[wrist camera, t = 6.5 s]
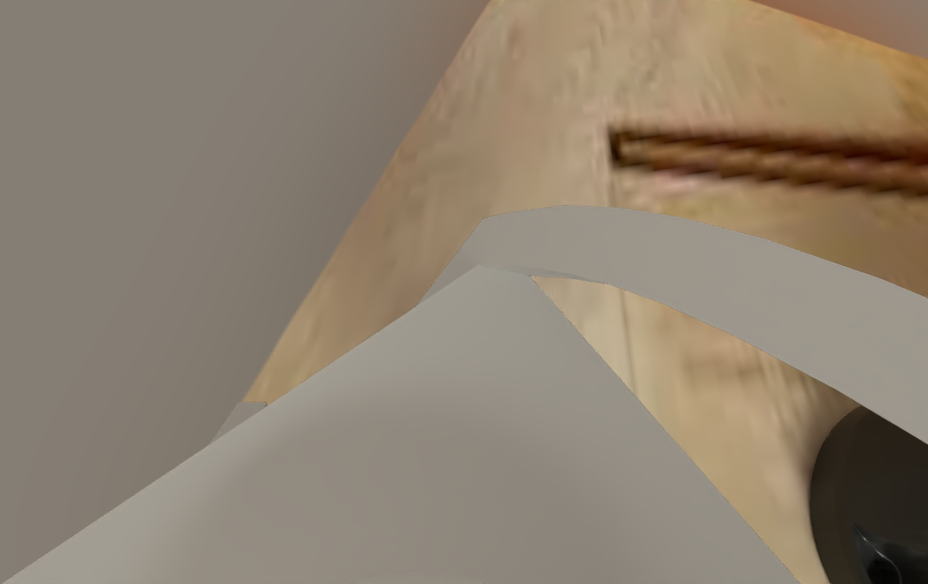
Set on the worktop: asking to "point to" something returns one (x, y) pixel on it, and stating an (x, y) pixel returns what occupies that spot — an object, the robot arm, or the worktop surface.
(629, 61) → the worktop surface
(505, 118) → the worktop surface
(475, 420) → the skyscraper
